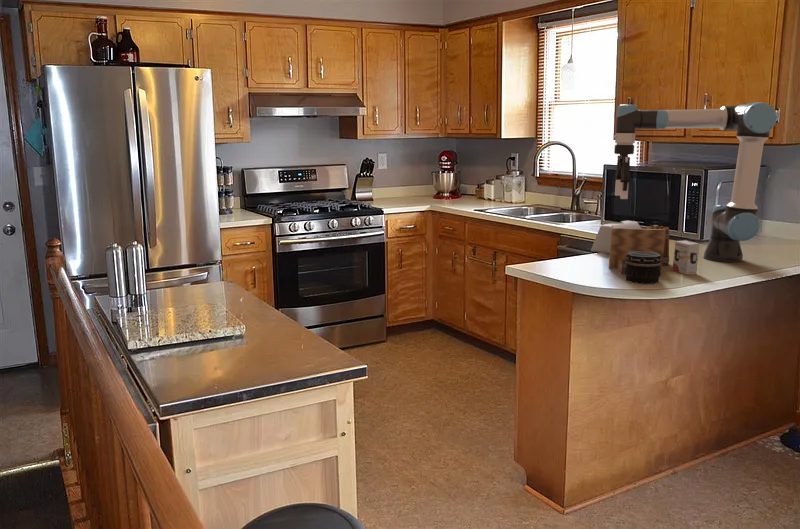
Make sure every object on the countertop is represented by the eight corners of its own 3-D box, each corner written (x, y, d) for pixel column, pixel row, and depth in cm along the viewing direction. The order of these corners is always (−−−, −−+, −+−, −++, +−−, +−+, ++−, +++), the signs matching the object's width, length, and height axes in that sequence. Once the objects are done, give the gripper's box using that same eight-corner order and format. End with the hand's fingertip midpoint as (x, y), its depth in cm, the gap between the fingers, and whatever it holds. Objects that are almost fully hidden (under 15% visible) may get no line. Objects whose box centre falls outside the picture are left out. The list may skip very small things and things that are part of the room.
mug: (671, 266, 287) (674, 229, 284) (643, 265, 289) (646, 228, 286) (664, 259, 302) (667, 224, 299) (638, 258, 304) (641, 223, 301)
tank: (623, 256, 307) (625, 227, 305) (589, 251, 318) (591, 223, 316) (650, 250, 325) (652, 222, 322) (617, 245, 336) (619, 219, 333)
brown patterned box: (661, 269, 279) (664, 229, 276) (668, 275, 269) (671, 233, 266) (608, 268, 282) (611, 227, 279) (613, 273, 271) (616, 232, 268)
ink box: (671, 270, 279) (674, 240, 277) (682, 269, 280) (685, 240, 278) (686, 274, 271) (688, 244, 269) (697, 274, 272) (700, 243, 270)
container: (622, 282, 256) (624, 255, 254) (624, 275, 268) (626, 249, 266) (660, 285, 252) (662, 258, 250) (661, 278, 263) (663, 252, 261)
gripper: (610, 143, 298) (606, 194, 302) (620, 144, 274) (616, 200, 278) (628, 143, 297) (625, 194, 301) (640, 145, 273) (636, 200, 277)
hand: (620, 197), depth 290 cm, fingers open, 13 cm apart
